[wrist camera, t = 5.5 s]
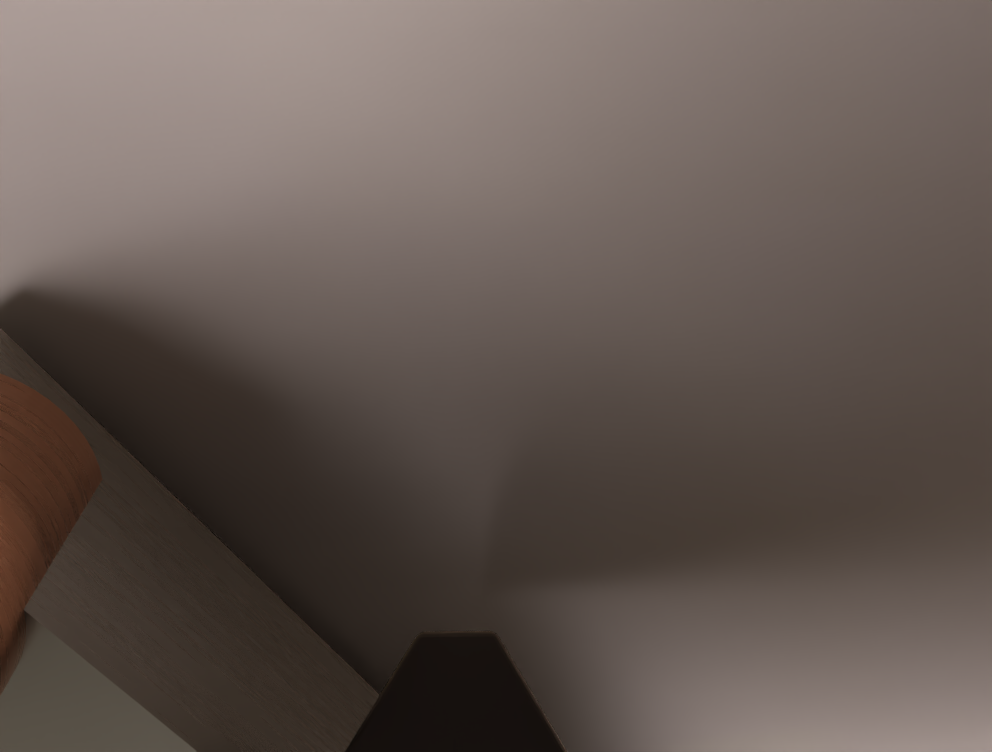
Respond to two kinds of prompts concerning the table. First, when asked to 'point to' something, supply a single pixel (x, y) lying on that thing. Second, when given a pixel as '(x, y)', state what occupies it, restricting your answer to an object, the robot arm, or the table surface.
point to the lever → (139, 606)
